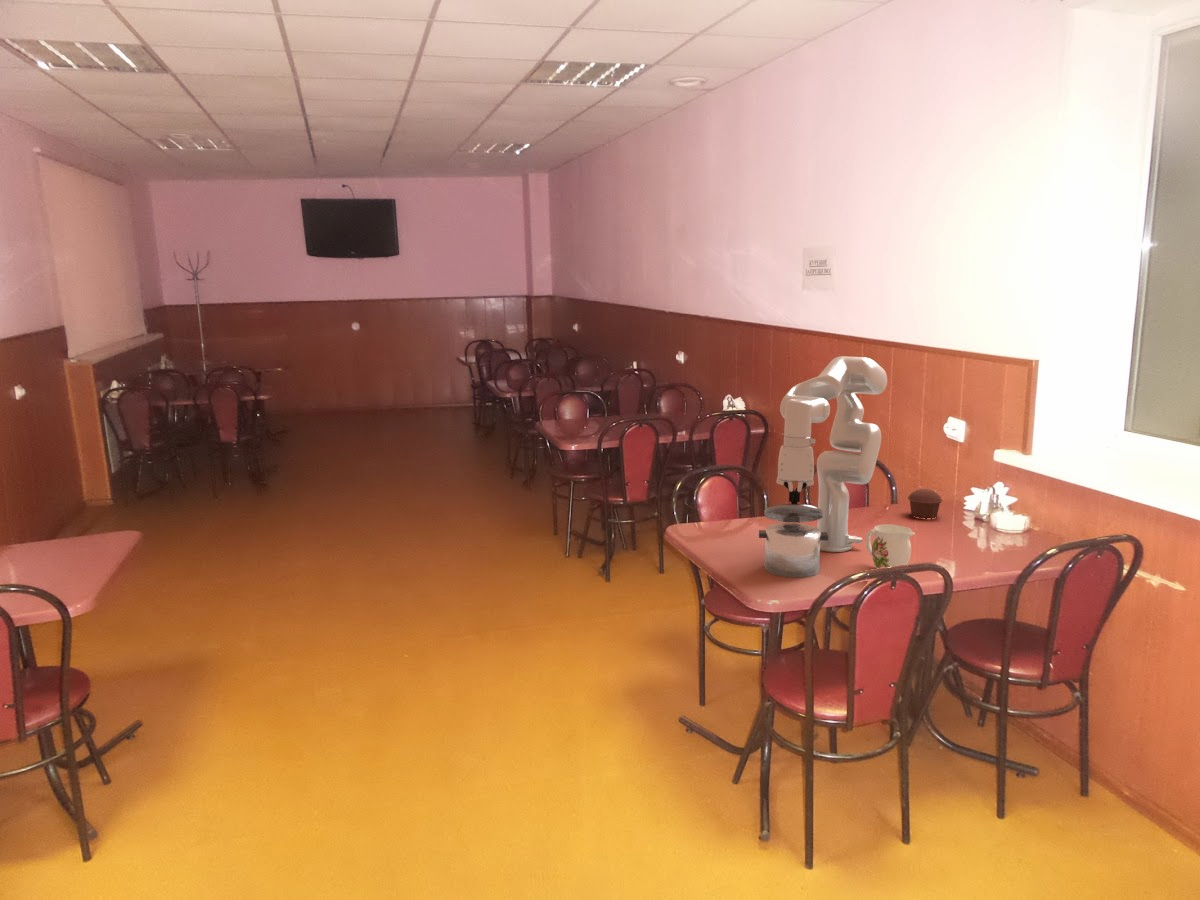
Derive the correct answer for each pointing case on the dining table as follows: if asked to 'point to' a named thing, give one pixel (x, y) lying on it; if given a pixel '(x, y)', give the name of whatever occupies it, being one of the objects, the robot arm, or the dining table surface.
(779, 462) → the robot arm
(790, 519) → the lid
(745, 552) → the dining table surface
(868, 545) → the pitcher
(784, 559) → the cooker pot
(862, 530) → the dining table surface
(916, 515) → the muffin
